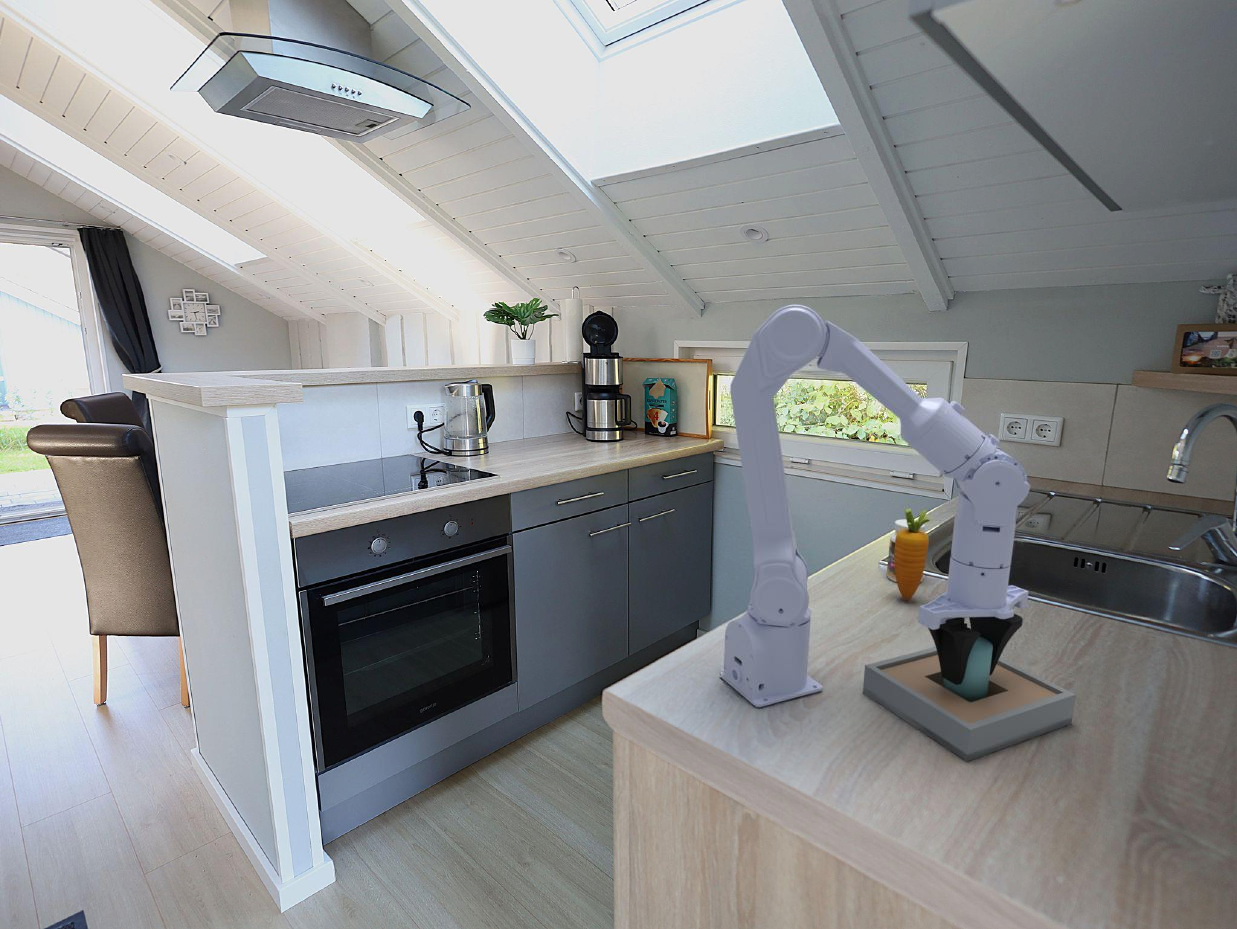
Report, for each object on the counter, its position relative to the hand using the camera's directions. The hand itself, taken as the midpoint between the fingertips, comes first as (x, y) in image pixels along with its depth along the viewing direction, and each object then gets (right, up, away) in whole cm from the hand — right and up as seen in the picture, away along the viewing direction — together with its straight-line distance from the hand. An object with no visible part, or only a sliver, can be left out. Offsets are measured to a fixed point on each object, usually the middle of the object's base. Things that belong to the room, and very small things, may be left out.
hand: (966, 675), depth 75 cm
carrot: (+6, +2, +30) cm, 31 cm away
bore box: (0, -4, +1) cm, 4 cm away
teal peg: (0, -2, 0) cm, 2 cm away
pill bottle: (+10, +4, +39) cm, 41 cm away
